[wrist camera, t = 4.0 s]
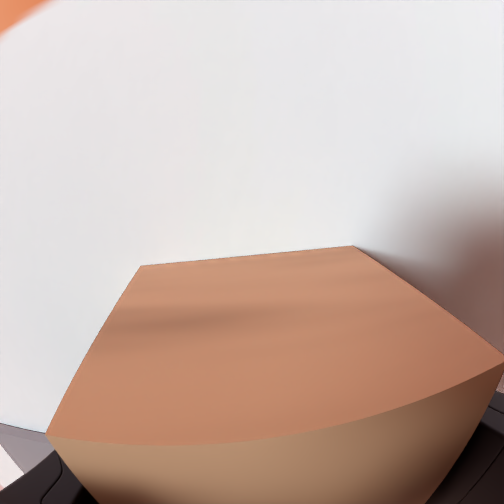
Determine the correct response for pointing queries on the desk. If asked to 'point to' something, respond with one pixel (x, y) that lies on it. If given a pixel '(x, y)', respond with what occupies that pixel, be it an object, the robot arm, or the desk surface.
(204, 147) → the desk surface
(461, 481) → the robot arm
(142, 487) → the walnut cube
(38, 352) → the desk surface
